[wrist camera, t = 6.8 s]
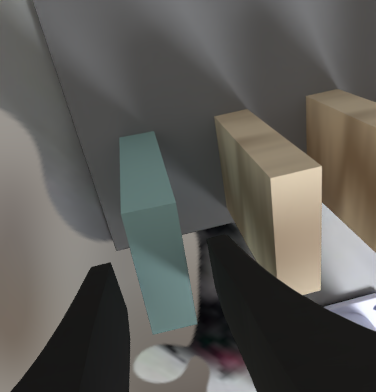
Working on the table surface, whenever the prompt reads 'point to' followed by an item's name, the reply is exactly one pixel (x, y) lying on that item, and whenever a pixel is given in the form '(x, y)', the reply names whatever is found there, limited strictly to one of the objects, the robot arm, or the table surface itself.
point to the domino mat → (198, 81)
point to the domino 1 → (154, 234)
